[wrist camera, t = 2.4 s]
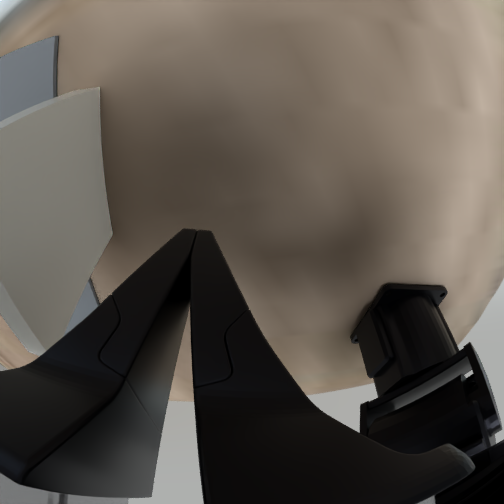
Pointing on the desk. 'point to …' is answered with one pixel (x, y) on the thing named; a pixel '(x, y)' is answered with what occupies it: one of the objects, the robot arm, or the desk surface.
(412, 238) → the desk surface
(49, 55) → the rubber mat
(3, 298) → the glazed tile
